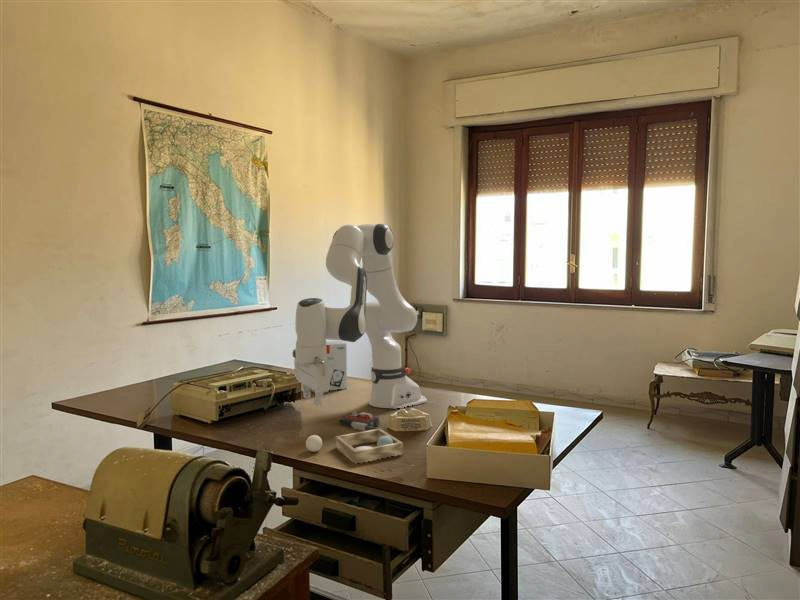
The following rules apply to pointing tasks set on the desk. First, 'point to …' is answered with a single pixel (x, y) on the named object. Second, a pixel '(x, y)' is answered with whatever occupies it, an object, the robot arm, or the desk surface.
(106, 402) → the desk surface
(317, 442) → the cream ball
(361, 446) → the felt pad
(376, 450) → the shallow open tray
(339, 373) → the hard drive box
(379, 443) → the blue ball
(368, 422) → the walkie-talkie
